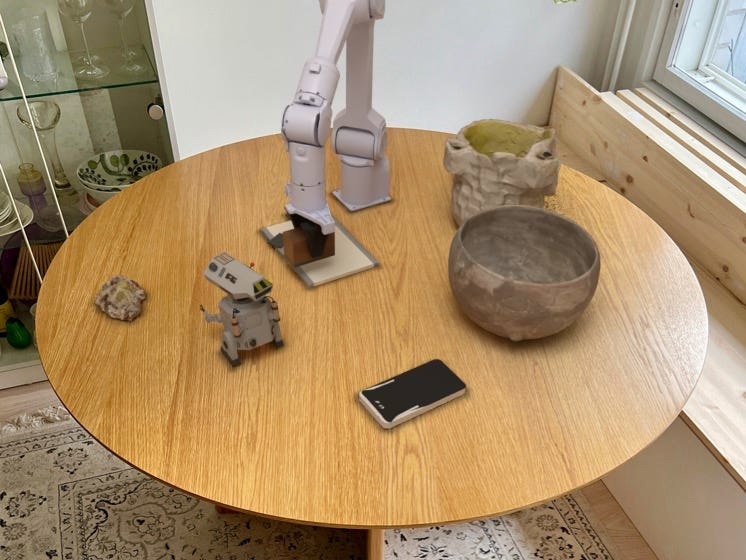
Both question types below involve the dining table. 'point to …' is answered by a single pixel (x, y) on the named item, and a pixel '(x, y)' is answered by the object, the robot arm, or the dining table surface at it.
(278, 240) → the dark grey tile
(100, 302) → the mineral rock
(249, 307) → the figurine
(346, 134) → the robot arm
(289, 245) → the brown rectangular block
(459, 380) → the smartphone
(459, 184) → the ceramic vessel
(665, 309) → the dining table surface
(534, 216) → the bowl
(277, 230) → the whiteboard
